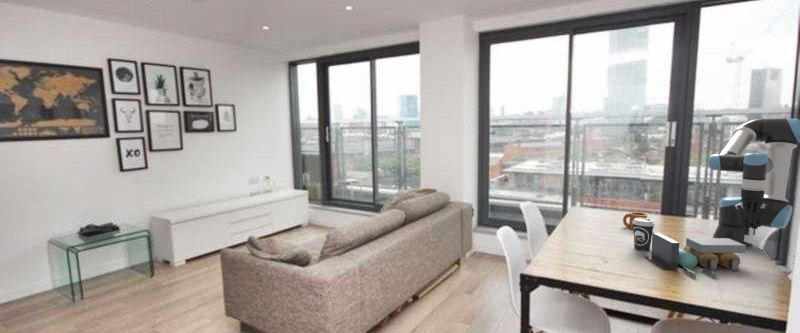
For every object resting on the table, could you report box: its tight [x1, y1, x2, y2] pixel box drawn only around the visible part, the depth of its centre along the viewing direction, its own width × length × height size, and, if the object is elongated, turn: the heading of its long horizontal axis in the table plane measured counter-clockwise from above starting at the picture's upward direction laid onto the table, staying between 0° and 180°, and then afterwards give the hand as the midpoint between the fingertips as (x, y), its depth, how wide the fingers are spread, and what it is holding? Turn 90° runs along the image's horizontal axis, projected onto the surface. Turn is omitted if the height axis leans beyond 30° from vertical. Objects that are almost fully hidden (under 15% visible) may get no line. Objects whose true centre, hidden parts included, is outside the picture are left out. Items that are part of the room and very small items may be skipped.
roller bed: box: [682, 259, 741, 279], centre depth 171 cm, size 23×25×5 cm
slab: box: [685, 237, 747, 254], centre depth 174 cm, size 18×10×4 cm, turn 85°
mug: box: [622, 211, 648, 231], centre depth 232 cm, size 9×12×9 cm
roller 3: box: [713, 253, 741, 269], centre depth 174 cm, size 14×7×7 cm, turn 175°
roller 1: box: [678, 247, 698, 270], centre depth 176 cm, size 12×6×6 cm, turn 175°
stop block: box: [643, 232, 680, 271], centre depth 176 cm, size 6×15×12 cm, turn 175°
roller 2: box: [682, 245, 719, 269], centre depth 175 cm, size 14×7×7 cm, turn 175°
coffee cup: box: [632, 217, 656, 252], centre depth 196 cm, size 10×10×15 cm
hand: (748, 242), depth 172 cm, fingers closed
